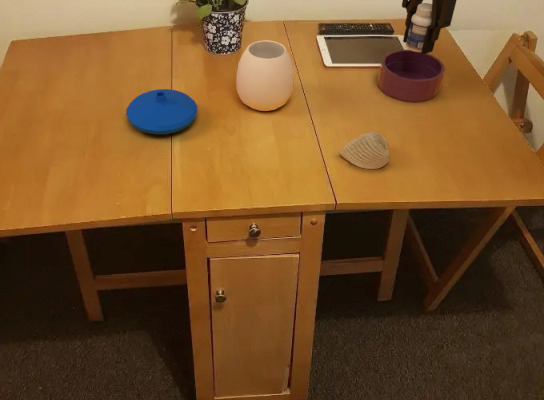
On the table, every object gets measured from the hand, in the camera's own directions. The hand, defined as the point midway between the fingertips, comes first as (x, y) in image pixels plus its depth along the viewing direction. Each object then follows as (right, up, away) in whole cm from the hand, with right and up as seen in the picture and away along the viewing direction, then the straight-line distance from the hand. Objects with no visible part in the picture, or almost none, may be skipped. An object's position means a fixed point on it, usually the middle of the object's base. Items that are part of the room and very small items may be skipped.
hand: (417, 46), depth 133 cm
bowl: (0, -8, +7) cm, 11 cm away
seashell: (-15, -27, -13) cm, 33 cm away
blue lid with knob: (-58, -18, -3) cm, 61 cm away
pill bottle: (0, 0, 0) cm, 1 cm away
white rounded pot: (-35, -12, +3) cm, 37 cm away
